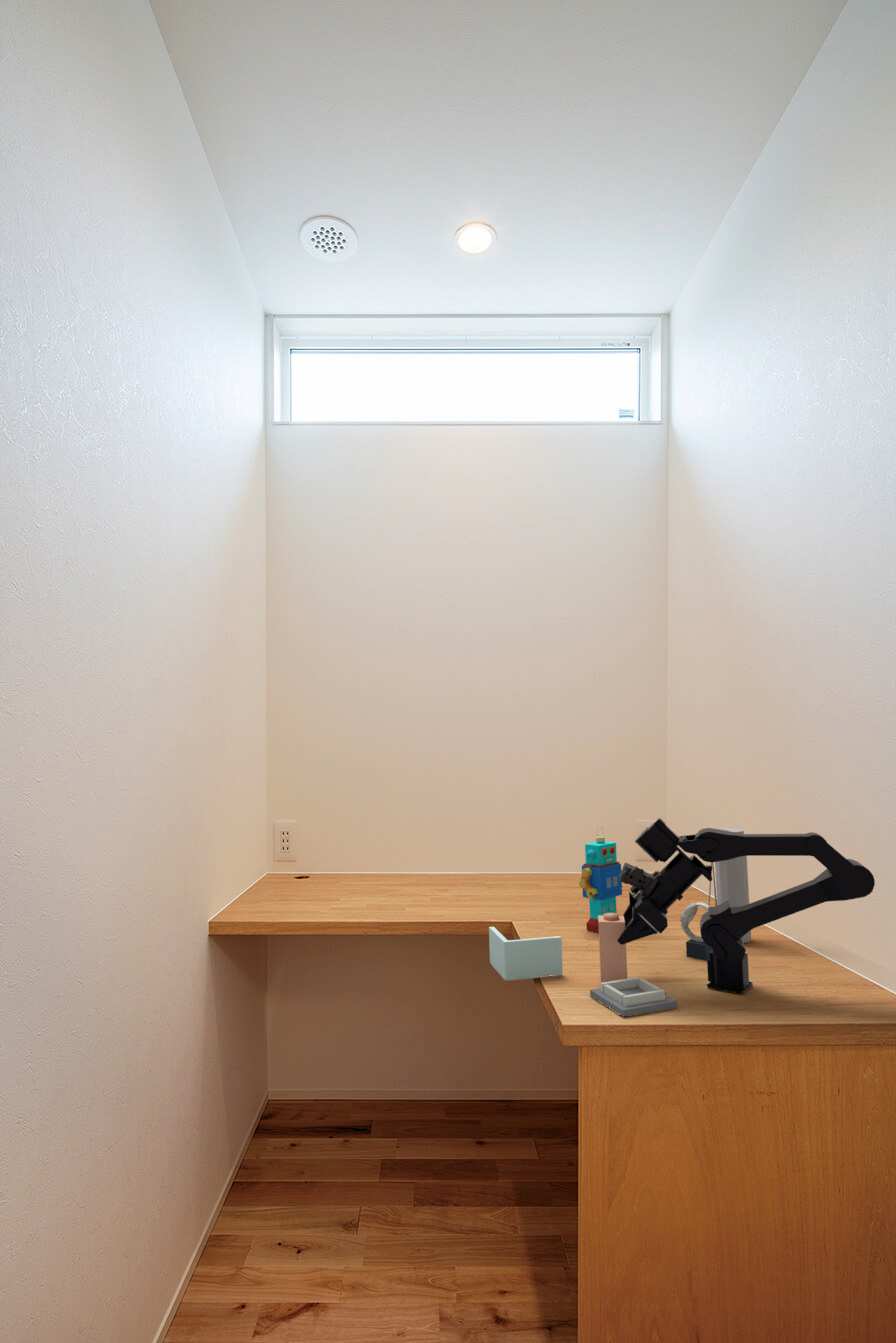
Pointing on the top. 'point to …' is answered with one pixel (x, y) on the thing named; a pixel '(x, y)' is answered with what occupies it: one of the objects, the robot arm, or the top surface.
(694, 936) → the watch
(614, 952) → the pillar
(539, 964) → the l-shaped corner panel
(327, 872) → the top surface
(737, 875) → the water bottle
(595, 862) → the toy robot
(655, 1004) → the socket plate
